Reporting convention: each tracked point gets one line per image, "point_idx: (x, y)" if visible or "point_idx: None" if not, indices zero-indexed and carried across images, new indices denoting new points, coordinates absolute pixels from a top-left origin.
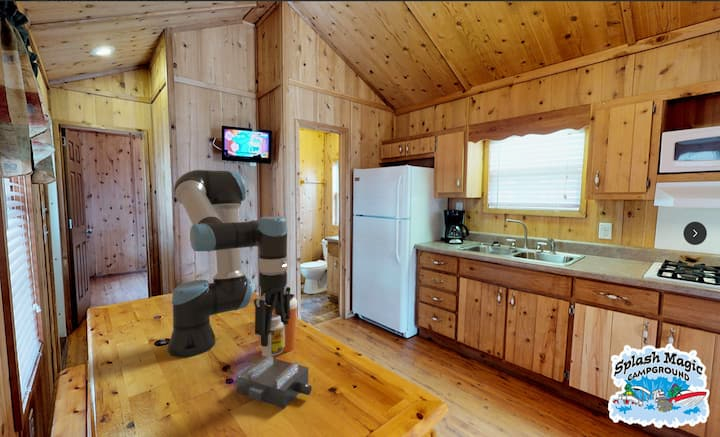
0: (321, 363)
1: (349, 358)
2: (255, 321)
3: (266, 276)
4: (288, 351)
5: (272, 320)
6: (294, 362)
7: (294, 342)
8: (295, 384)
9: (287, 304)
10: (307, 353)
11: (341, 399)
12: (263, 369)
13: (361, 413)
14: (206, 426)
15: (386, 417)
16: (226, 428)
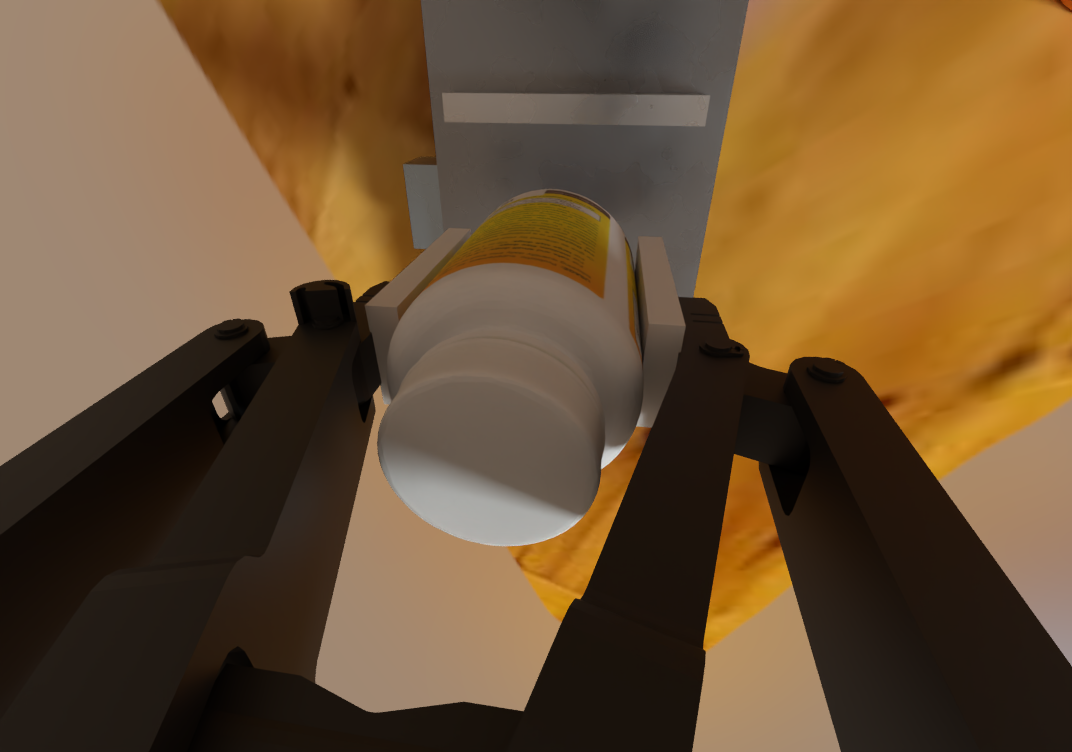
0: (876, 322)
1: (947, 434)
2: (75, 426)
3: None
4: (1063, 2)
5: (399, 496)
6: None
7: None
8: None
9: (829, 687)
10: (1019, 181)
11: (610, 477)
12: (566, 136)
13: (568, 536)
14: (226, 71)
15: (579, 586)
16: (277, 172)
